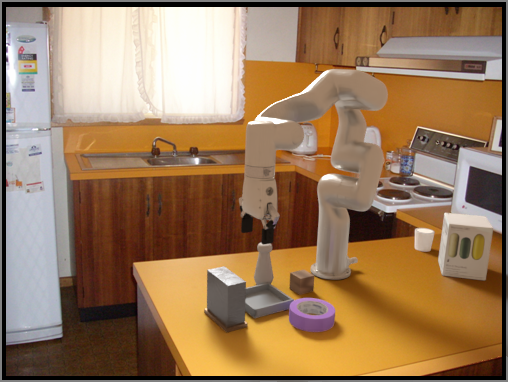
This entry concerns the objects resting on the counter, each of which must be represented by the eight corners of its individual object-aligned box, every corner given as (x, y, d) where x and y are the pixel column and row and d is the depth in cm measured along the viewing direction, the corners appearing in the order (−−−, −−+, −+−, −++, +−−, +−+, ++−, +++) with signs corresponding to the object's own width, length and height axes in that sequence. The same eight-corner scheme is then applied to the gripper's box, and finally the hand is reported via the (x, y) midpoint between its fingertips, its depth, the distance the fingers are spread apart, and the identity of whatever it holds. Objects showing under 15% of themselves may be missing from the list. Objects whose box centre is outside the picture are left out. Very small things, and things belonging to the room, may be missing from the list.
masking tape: (330, 311, 140) (331, 298, 139) (337, 333, 128) (338, 319, 127) (287, 310, 139) (288, 296, 139) (290, 332, 128) (291, 318, 127)
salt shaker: (262, 279, 158) (263, 238, 155) (277, 284, 154) (279, 243, 151) (249, 285, 153) (251, 243, 150) (264, 290, 150) (266, 248, 147)
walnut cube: (303, 285, 155) (303, 269, 154) (313, 291, 151) (314, 275, 150) (289, 288, 152) (290, 272, 151) (299, 295, 148) (300, 278, 147)
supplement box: (441, 276, 165) (448, 223, 160) (437, 261, 177) (443, 211, 173) (486, 281, 162) (494, 227, 157) (479, 265, 174) (486, 215, 170)
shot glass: (434, 248, 189) (436, 229, 188) (429, 253, 184) (432, 234, 182) (415, 244, 193) (417, 226, 191) (410, 249, 187) (412, 231, 186)
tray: (268, 290, 150) (268, 282, 150) (293, 307, 140) (293, 299, 140) (230, 299, 144) (231, 291, 143) (254, 318, 134) (254, 309, 133)
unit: (224, 307, 139) (225, 265, 137) (247, 326, 130) (249, 282, 127) (204, 312, 136) (204, 269, 133) (226, 332, 126) (227, 287, 124)
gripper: (292, 177, 123) (288, 246, 127) (254, 164, 137) (251, 226, 141) (266, 180, 119) (262, 250, 123) (229, 166, 133) (227, 230, 137)
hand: (256, 237), depth 132 cm, fingers open, 9 cm apart
